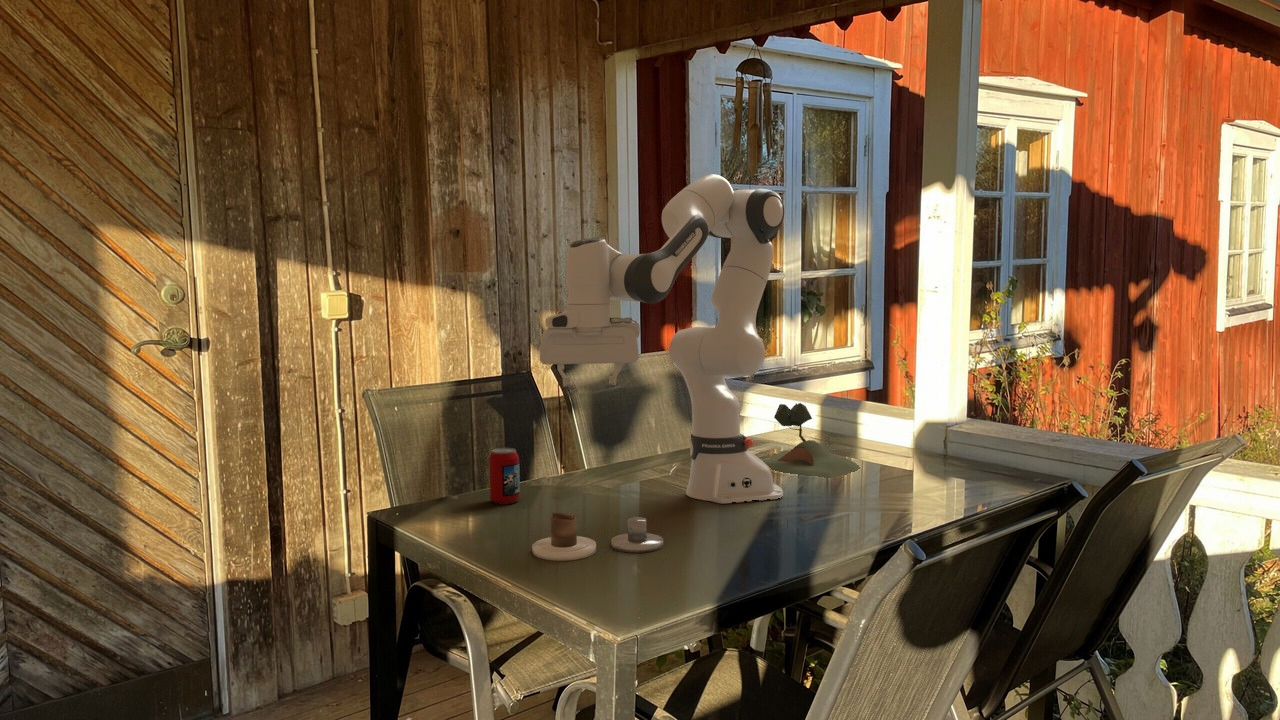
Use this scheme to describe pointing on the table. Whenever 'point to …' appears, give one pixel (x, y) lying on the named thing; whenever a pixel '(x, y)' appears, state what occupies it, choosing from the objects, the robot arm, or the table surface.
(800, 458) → the plant
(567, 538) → the cap
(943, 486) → the table surface
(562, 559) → the saucer
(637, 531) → the pedestal
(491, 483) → the beverage can
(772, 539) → the table surface
